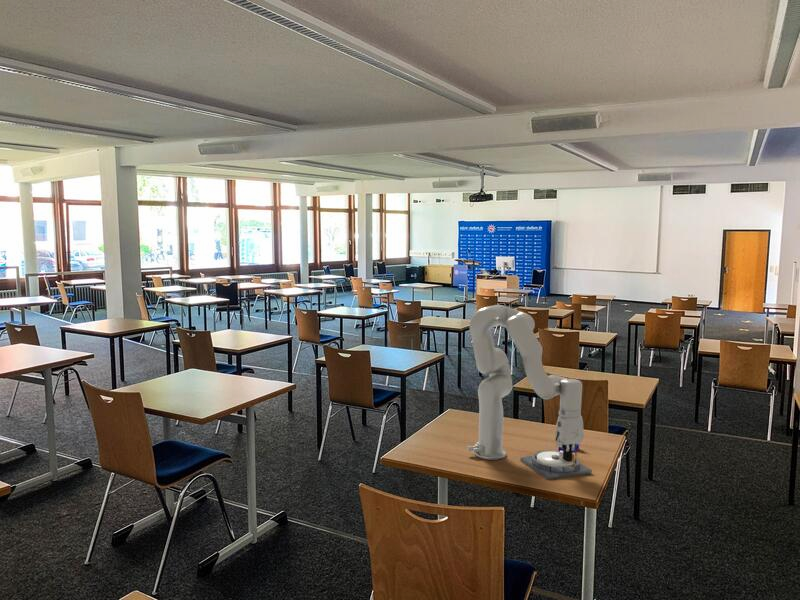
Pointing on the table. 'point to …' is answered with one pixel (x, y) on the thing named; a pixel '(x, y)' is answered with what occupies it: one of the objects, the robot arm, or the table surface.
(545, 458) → the dial
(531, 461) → the panel
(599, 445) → the table surface
